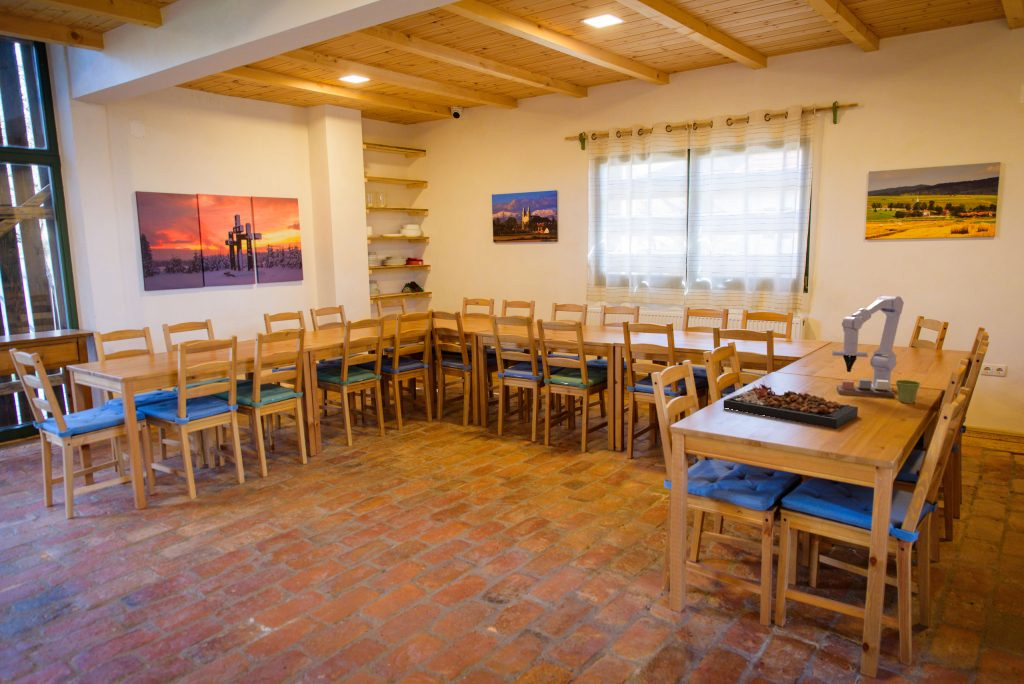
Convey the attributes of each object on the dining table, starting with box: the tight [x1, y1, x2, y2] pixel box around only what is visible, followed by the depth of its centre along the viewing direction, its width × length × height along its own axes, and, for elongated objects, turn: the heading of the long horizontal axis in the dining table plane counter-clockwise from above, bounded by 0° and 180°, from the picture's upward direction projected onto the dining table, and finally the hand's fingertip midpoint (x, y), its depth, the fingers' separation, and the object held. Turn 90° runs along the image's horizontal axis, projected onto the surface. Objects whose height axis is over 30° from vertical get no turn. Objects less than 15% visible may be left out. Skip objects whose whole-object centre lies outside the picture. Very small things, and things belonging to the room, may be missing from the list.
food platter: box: [723, 380, 859, 430], centre depth 262 cm, size 45×25×10 cm, turn 45°
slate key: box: [858, 378, 873, 389], centre depth 293 cm, size 5×5×4 cm
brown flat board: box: [836, 384, 895, 399], centre depth 294 cm, size 11×22×2 cm, turn 68°
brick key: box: [841, 379, 855, 390], centre depth 296 cm, size 5×5×4 cm
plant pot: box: [895, 379, 922, 404], centre depth 277 cm, size 9×9×9 cm
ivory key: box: [876, 379, 889, 390], centre depth 290 cm, size 5×5×4 cm
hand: (848, 371), depth 295 cm, fingers closed
